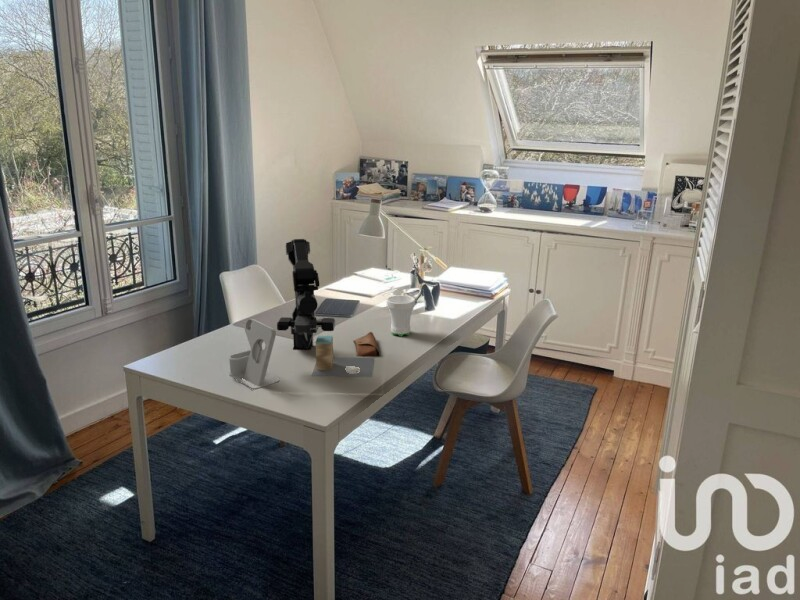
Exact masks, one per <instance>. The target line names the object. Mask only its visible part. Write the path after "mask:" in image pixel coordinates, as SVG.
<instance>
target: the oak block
mask: <svg viewBox="0 0 800 600" xmlns="http://www.w3.org/2000/svg"><path fill="white" fill-rule="evenodd" d="M333 343H334V336H333V335H318V336H317V338H316V341H315V364H316V369H317V370H332V366H333V357H334V344H333Z"/></svg>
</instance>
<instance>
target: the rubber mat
mask: <svg viewBox="0 0 800 600" xmlns="http://www.w3.org/2000/svg"><path fill="white" fill-rule="evenodd" d="M374 365H375V357H345V356H344V357H341V356H340V357H339V356H335V357H334V356H333V366H332V370H317V369H316V363H315V365H314V367H313V370H312V373H311V377H346V378H347V377H349V378H350V377H353V378H354V377H355V378H357V377H358V378H360V377H362V378H364V377H365V378H372V377H373V373H374ZM346 366H355V367H359V368H360V372H359V373H357V374H349V373H347V372H346V370H345V368H346Z"/></svg>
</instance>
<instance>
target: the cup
mask: <svg viewBox="0 0 800 600" xmlns="http://www.w3.org/2000/svg"><path fill="white" fill-rule="evenodd" d="M385 300H386V302H385V303H386V306H387V308H388V310H389V314H390V315H389V316H390V321H391V322H390V323H391V326H390V332H391V334H392V336H396V335H398V336H399V337H400V336H401V337H403V336H404V335H405V336H409V335H410V332H411V325H410V324H411V316H412V312H413V309H414V307H416V299H415V297H413V296H410V295H405V294H404V295H403V294H401V295H399V294H397V295H392V296H391V295H390V296H388V297H387V298H386V299H385Z"/></svg>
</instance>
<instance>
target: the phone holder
mask: <svg viewBox="0 0 800 600" xmlns="http://www.w3.org/2000/svg"><path fill="white" fill-rule="evenodd" d="M244 333H245V334H246V337H247V341H248V344H249V346H250V349H249V350H246V351H243V352H238V353H236V354H232V355H230V356H229V358H228V359H229V369H230V371H229V372H228V374H229V376H230V375H231V376H230V377H232V378H233V377H234V378H233V379H234V380H236V379H237V380H236V381H238V382H239V381H240V382H239V383H241V382H242V383H243V385H244V386H245V385H246V387H247V388H248V387H249V388H248V389H250V388H251V389H253V390H258V389H260V388H261V389H262V388H264V387H267V386H270V385H273V384H275V383H279V382H280V379H279V378H278V377H276V376H275V375H273V374H271V373H270V372H268V371H267V369H268V366H269V362H270V360H271V356H272V351H273V349H274V348H273V347H274V344H275V341H276V336H277V335H276V334H277V333H276V330H275V328H273V327H271V326H269V325H267V324H266V323H263V322H261V321H259V320H257V319H255V318H248V319H247V320H246V322H245V325H244ZM263 343H264V344H265V346H264V349H263ZM242 378H243V379H245V380H246V381H248V382H250V383H251V384H252V385H254V386H255V387H253V386H251V385H249V384H248V383H246V382H245V381H243V380H242ZM242 383H241V384H242ZM251 389H250V390H251ZM253 390H252V391H253Z"/></svg>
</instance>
